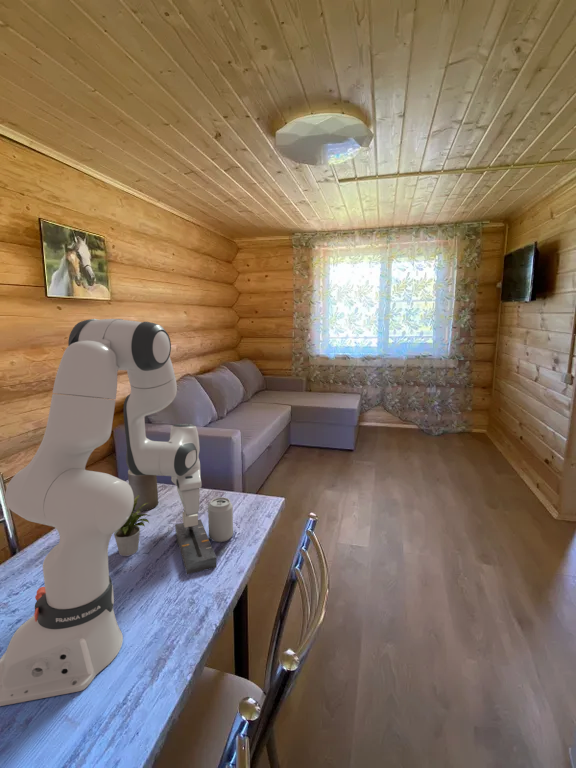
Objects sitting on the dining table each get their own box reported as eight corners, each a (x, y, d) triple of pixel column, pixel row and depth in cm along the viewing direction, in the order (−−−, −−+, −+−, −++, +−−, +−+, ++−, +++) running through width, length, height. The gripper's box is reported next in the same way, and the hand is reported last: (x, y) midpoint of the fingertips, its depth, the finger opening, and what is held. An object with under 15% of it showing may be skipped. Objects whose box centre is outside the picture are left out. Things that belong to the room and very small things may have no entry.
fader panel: (186, 574, 102) (186, 564, 101) (175, 533, 122) (175, 524, 121) (216, 567, 105) (216, 556, 104) (200, 527, 125) (200, 519, 124)
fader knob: (185, 533, 116) (184, 517, 115) (183, 526, 119) (182, 511, 118) (198, 530, 117) (197, 515, 116) (196, 524, 121) (195, 509, 120)
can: (235, 531, 123) (234, 496, 121) (229, 544, 116) (229, 507, 114) (212, 529, 124) (211, 495, 122) (205, 543, 116) (204, 506, 114)
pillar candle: (161, 498, 145) (159, 461, 143) (154, 511, 136) (151, 471, 133) (135, 499, 145) (132, 461, 142) (126, 512, 135) (122, 472, 133)
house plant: (105, 575, 101) (100, 518, 99) (92, 551, 112) (87, 499, 109) (157, 554, 110) (154, 502, 108) (141, 534, 121) (138, 485, 118)
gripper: (171, 464, 127) (172, 502, 129) (180, 488, 109) (182, 533, 111) (190, 461, 130) (191, 499, 132) (202, 484, 111) (204, 528, 113)
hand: (187, 515), depth 121 cm, fingers closed
